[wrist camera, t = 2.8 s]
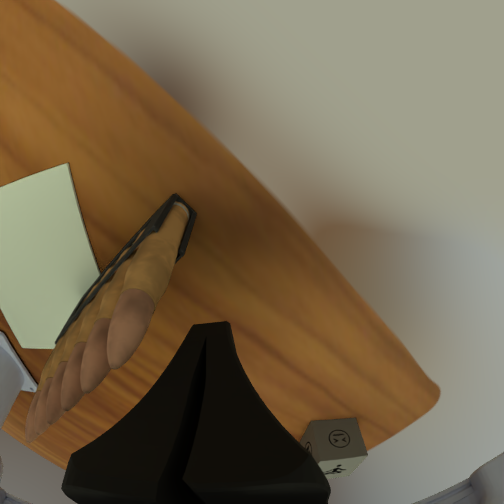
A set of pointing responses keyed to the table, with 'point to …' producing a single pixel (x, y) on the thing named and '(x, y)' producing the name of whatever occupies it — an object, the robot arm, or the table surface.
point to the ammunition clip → (111, 315)
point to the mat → (43, 256)
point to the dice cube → (335, 446)
